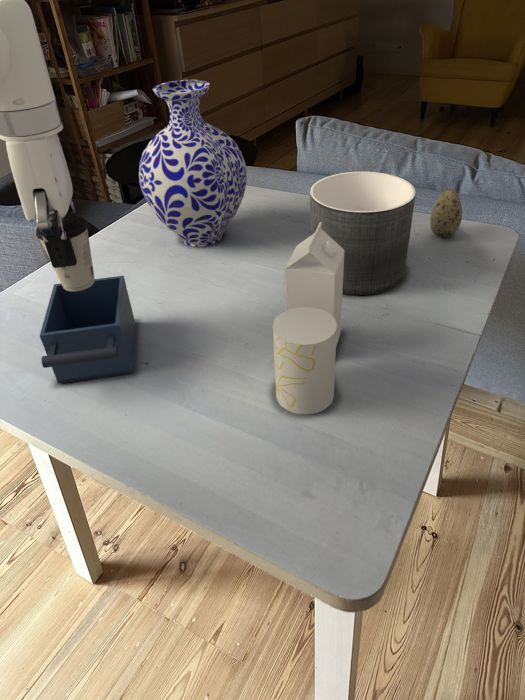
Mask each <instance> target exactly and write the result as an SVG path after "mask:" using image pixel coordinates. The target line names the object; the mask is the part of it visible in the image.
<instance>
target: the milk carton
mask: <svg viewBox="0 0 525 700" xmlns="http://www.w3.org/2000/svg"><path fill="white" fill-rule="evenodd" d="M343 271H344V249H343V248H342V247H341V246H340V245H339V244H337V243H336V242H335V241H334V240H333V239H332V238H331V237H330V236H329V235H327V234H326V233H325V232H324V231H323V230H322V229H321V222H320V223H319V225H318V227H317V229H316V231H315V233H314V234H312V235H311V236H310V235H309V236H308V237H307V238H305V239H304V240H303V241H302V242H300V243H299V244H297V245H296V247H295V248H294V251H293V252H292V254H291V256H290V258H289V260H288V262H287V264H286V266H285V267H284V292H285V293H284V295H285V311H287V310H289V309H293V308H298V307H312V308H317V309H321V310H323V311H326V312H328V313H329V314H330V315H332V316H333V317H334V319H335V320H336V323H337V332H336V347H337V346H338V343H339V340H340V337H341V331H342V312H343V293H342V292H343Z"/></svg>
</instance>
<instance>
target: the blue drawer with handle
mask: <svg viewBox="0 0 525 700" xmlns="http://www.w3.org/2000/svg"><path fill="white" fill-rule="evenodd" d="M135 323H136V320H135V316H134V313H133V307H132V304H131V299H130V295H129V292H128V288H127V284H126V279H125V276H124V275H116V276H108V277H102V278H95V282H94V283H93V285H92V286H90V287H89V288H87V289H84V290H81V291H67V290H65V289H64V288H63V286H62V284H61V282H60V283H54V284H53V287H52V290H51V294H50V298H49V300H48V304H47V309H46V312H45V315H44V319H43V321H42V325H41V329H40V331H39V338H40V340H41V343H42V346H43V348H44V351H45V353H46V355H42V356H41V358H40V359H41V361H40V362H41V365H42V367H43V368H44V369H48V368H51V370H52V372H53V374H54V376H55V379H56V381H57V384H58V385H59V384H66V383H73V382H79V381H86V380H95V379H100V378H108V377H114V376H115V377H116V376H121V375H131V374H133V366H134V347H135V346H134V345H135V344H134V343H135V326H136V325H135Z"/></svg>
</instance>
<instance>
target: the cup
mask: <svg viewBox="0 0 525 700" xmlns="http://www.w3.org/2000/svg"><path fill="white" fill-rule="evenodd" d="M336 332H337V323H336V320H335V319H334V317H333V316H332V315H330V314H329V313H328V312H326V311H323V310H321V309H317V308H312V307H298V308H293V309H289V310H287V311H286V310H285V311H282V312H281V313H279V314H278V315H277V316H276V317H275V318H274V320H273V322H272V337H273V340H272V341H273V359H274V361H273V362H274V377H275V378H274V379H275V396H276V401H277V402H278V404H279V405H280V407H282V408H283V409H284V410H286V411H288V412H290V413H293V414H296V415H313V414H318V413H320V412H322V411H324V410H326V409H327V408H329V406H330V405H332V403H333V401H334V397H335V378H336V377H335V376H336V356H337V354H336V352H337V346H336Z"/></svg>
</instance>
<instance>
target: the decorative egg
mask: <svg viewBox="0 0 525 700" xmlns="http://www.w3.org/2000/svg"><path fill="white" fill-rule="evenodd" d="M462 220H463V207H462V202H461V198H460V196H459V194H458V192H457V191H456V190H454V189H452V188H448V189H446V190H444V191H443V192H442V193H441V194H440V195H439V197H438V198H437V200H436V202H435V203H434V206H433V208H432V211H431V214H430V218H429V225H430V229H431V231H432V233H433V234H434V236H437V237H438V238H442V239H446V238H450V237H452V236H454V235H455V234H456V233H457V232H458V230H459V228H460V227H461V223H462Z"/></svg>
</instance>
